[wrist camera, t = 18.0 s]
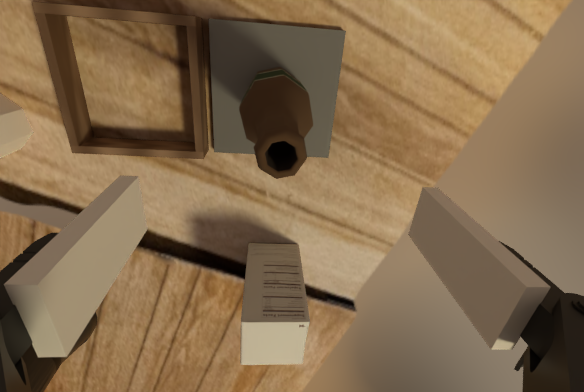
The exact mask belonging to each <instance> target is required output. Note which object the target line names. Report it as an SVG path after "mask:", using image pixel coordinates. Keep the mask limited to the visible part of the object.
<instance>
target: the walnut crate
mask: <svg viewBox="0 0 584 392" xmlns="http://www.w3.org/2000/svg"><path fill="white" fill-rule="evenodd" d="M32 5H33V9H34V12H35V16H36V20H37V24H38V27H39V31H40V35H41V39H42V42H43V46H44V50H45V53H46V57H47V61H48V65H49V68H50V72H51V76H52V80H53V83H54V87H55V91H56V94H57V98H58V102H59V106H60V109H61V113H62V117H63V120H64V124H65V128H66V132H67V135H68V139H69V143H70V147H71V150H72V153H83V154H105V155H127V156H149V157H170V158H192V159H204V157H205V155H206V154H207V152H208V150H209V147H208V128H207V109H206V90H205V71H204V52H203V32H202V18H199V17H196V16H187V15H176V14H165V13H154V12H142V11H131V10H120V9H109V8H98V7H87V6H76V5H64V4H53V3H42V2H32ZM66 16H76V17H87V18H99V19H110V20H122V21H134V22H145V23H157V24H168V25H180V26H186V27H187V41H188V54H189V68H190V82H191V95H192V109H193V123H194V136H195V142H177V141H157V140H138V139H118V138H99V137H94V135H93V131H92V127H91V122H90V118H89V114H88V109H87V105H86V100H85V96H84V92H83V87H82V83H81V79H80V74H79V70H78V65H77V61H76V57H75V52H74V48H73V44H72V39H71V35H70V30H69V26H68V22H67V17H66Z"/></svg>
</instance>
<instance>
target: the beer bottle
mask: <svg viewBox="0 0 584 392" xmlns="http://www.w3.org/2000/svg"><path fill="white" fill-rule="evenodd" d="M239 111H240V115H241V119H242V123H243V127H244V131H245V135H246V138H247V139H248V140H250V141H251V142H253V143H255V145H254V151H255V155H256V159H257V163H258V167H259V168H260V169H261V170H263V171H264V172H266V173H268V174H269V175H271V176H273V177H274V178H276V179H277V178H283V177H288V176H293V175H295V174H296V173H297V171H298V170H299V168H300V167H301V166H302V164H303V163H304V162H305V160H306V158H307V152H306V146H305V140H304V138H305V136H306V135H307V134H308V132H309V131H310V129H311V128H312V127H313V119H312V112H311V105H310V99H309V94H308V92H307V90H306V89H305V87H304V86H303V85H302V83H301V82H300V81H299V80H297V79H296V78H295V77H293V76H292V75H291V74H289V73H288V72H287V71H285V70H284V69H283V68H281V67H277V68H272V69H267V70H263V71H258V72H257V74H256V75H255V77H254V79H253V80H252V82H251V84H250V85H249V87H248V89H247V90H246V92H245V94H244V97H243V99H242V101H241V104H240V106H239Z"/></svg>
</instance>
